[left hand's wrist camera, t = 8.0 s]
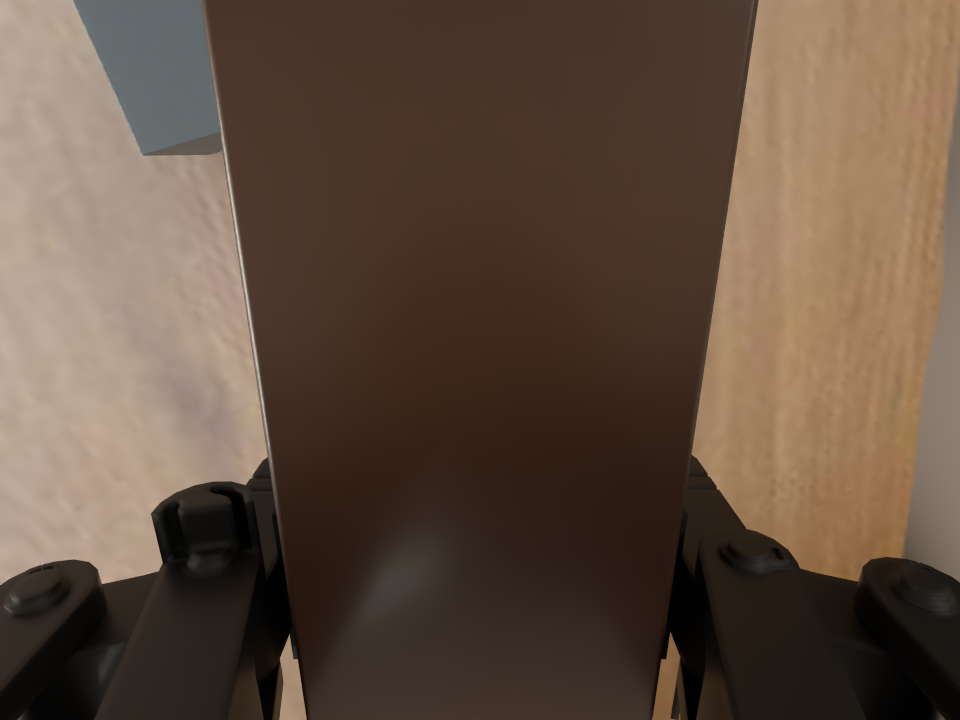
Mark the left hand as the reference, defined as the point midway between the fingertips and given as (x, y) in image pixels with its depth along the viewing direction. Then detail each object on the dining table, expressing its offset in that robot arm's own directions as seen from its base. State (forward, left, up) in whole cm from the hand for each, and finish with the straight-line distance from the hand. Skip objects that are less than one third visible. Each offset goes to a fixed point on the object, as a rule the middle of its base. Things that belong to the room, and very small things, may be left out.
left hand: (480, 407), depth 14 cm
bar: (+9, 0, 0) cm, 9 cm away
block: (+9, +10, -13) cm, 18 cm away
